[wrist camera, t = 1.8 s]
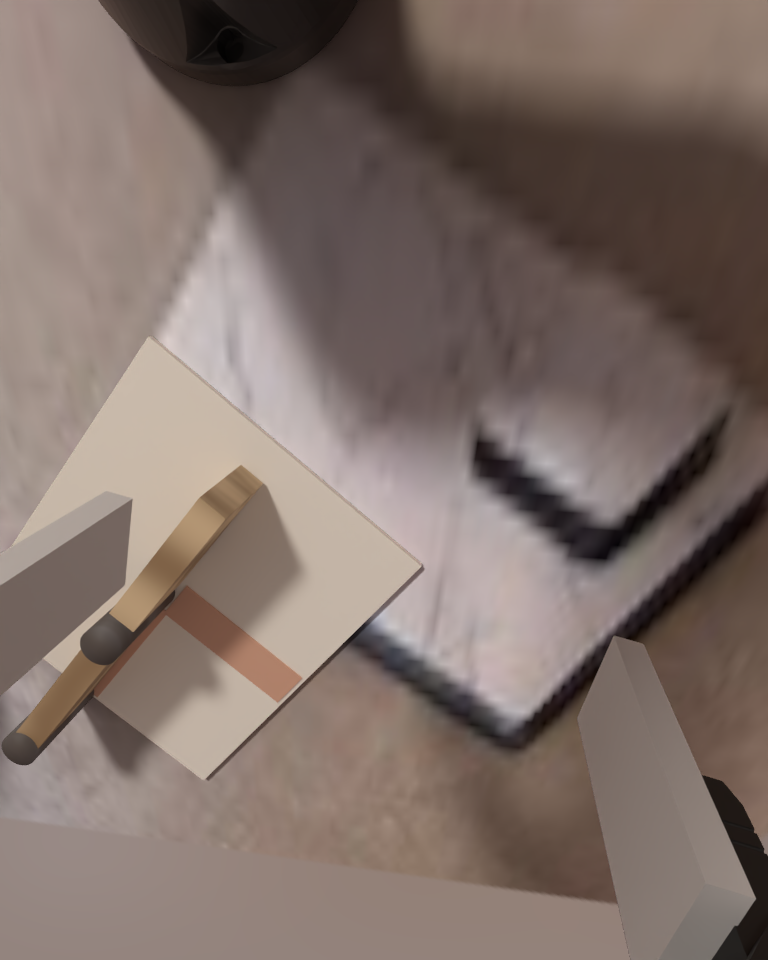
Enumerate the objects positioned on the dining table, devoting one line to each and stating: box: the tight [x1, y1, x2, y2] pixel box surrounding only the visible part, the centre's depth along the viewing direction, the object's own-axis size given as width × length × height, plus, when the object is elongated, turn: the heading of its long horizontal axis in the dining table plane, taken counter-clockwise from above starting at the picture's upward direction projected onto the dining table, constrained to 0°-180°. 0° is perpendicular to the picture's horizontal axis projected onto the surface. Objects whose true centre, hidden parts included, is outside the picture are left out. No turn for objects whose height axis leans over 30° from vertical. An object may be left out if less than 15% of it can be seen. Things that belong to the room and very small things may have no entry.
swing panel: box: [80, 465, 263, 665], centre depth 37 cm, size 13×2×7 cm, turn 140°
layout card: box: [11, 336, 422, 780], centre depth 42 cm, size 22×26×1 cm
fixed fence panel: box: [2, 650, 126, 765], centre depth 41 cm, size 2×12×7 cm, turn 140°
